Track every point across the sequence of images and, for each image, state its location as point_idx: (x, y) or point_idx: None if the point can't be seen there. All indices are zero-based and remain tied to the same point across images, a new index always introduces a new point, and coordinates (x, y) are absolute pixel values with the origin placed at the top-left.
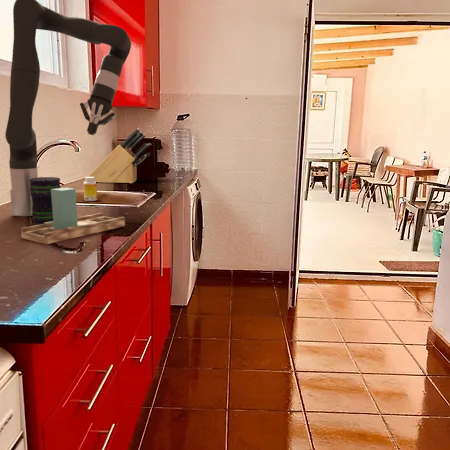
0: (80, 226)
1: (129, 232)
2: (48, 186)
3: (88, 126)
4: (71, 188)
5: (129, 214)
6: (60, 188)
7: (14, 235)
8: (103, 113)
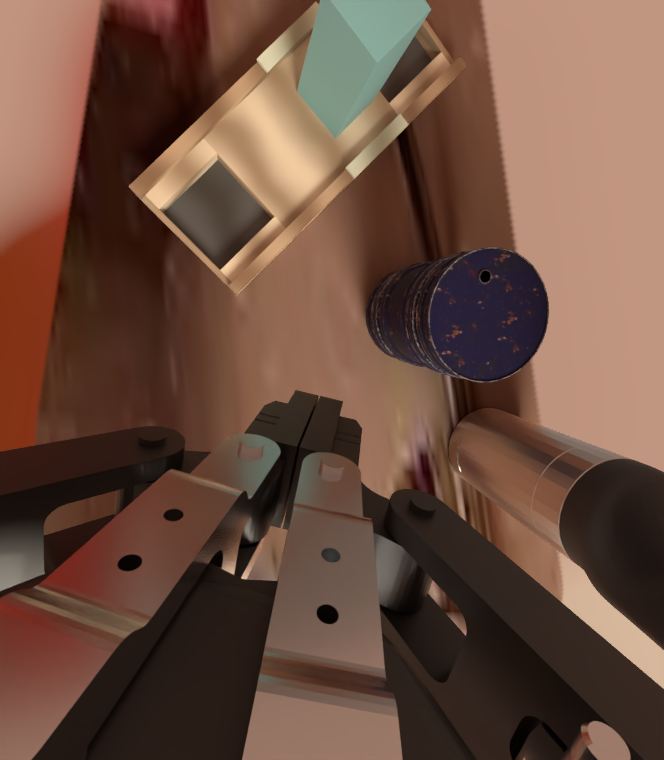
0: (282, 35)
1: (109, 74)
2: (457, 255)
3: (355, 448)
4: (342, 11)
5: (137, 416)
6: (392, 25)
7: (474, 128)
8: (43, 578)
